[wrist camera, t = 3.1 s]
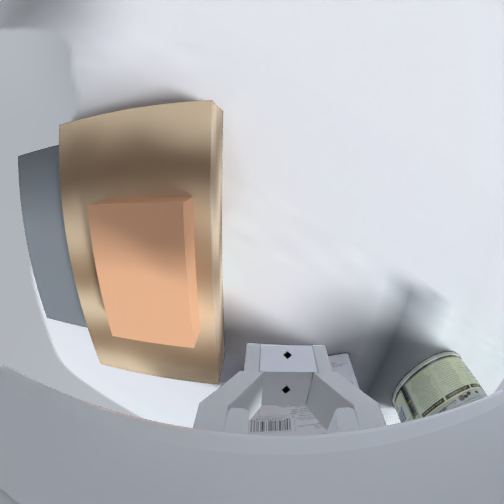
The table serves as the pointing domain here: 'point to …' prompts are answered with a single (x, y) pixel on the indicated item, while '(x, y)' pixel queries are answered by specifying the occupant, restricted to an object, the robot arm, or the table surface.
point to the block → (147, 267)
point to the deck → (149, 185)
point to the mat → (48, 235)
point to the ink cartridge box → (297, 409)
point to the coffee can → (436, 387)
